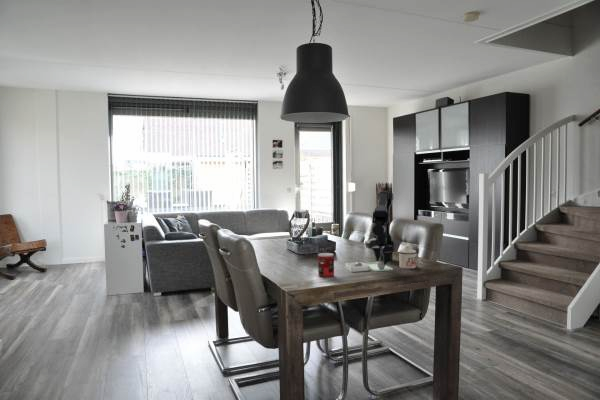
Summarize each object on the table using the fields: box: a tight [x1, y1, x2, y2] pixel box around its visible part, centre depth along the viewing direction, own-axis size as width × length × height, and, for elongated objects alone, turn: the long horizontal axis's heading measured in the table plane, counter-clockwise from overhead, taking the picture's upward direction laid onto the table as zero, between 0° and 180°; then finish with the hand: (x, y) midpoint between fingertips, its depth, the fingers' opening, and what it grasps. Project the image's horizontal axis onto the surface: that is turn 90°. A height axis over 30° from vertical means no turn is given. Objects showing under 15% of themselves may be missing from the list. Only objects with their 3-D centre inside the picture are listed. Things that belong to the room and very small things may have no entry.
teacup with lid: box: [398, 245, 419, 269], centre depth 231 cm, size 12×9×12 cm
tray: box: [364, 261, 394, 272], centre depth 232 cm, size 10×18×1 cm, turn 14°
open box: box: [344, 261, 371, 273], centre depth 228 cm, size 10×10×3 cm
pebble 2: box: [377, 260, 385, 269], centre depth 227 cm, size 4×4×4 cm
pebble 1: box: [354, 261, 362, 267], centre depth 226 cm, size 4×4×4 cm
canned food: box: [317, 252, 335, 278], centre depth 217 cm, size 8×8×11 cm
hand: (381, 262), depth 227 cm, fingers open, 9 cm apart
